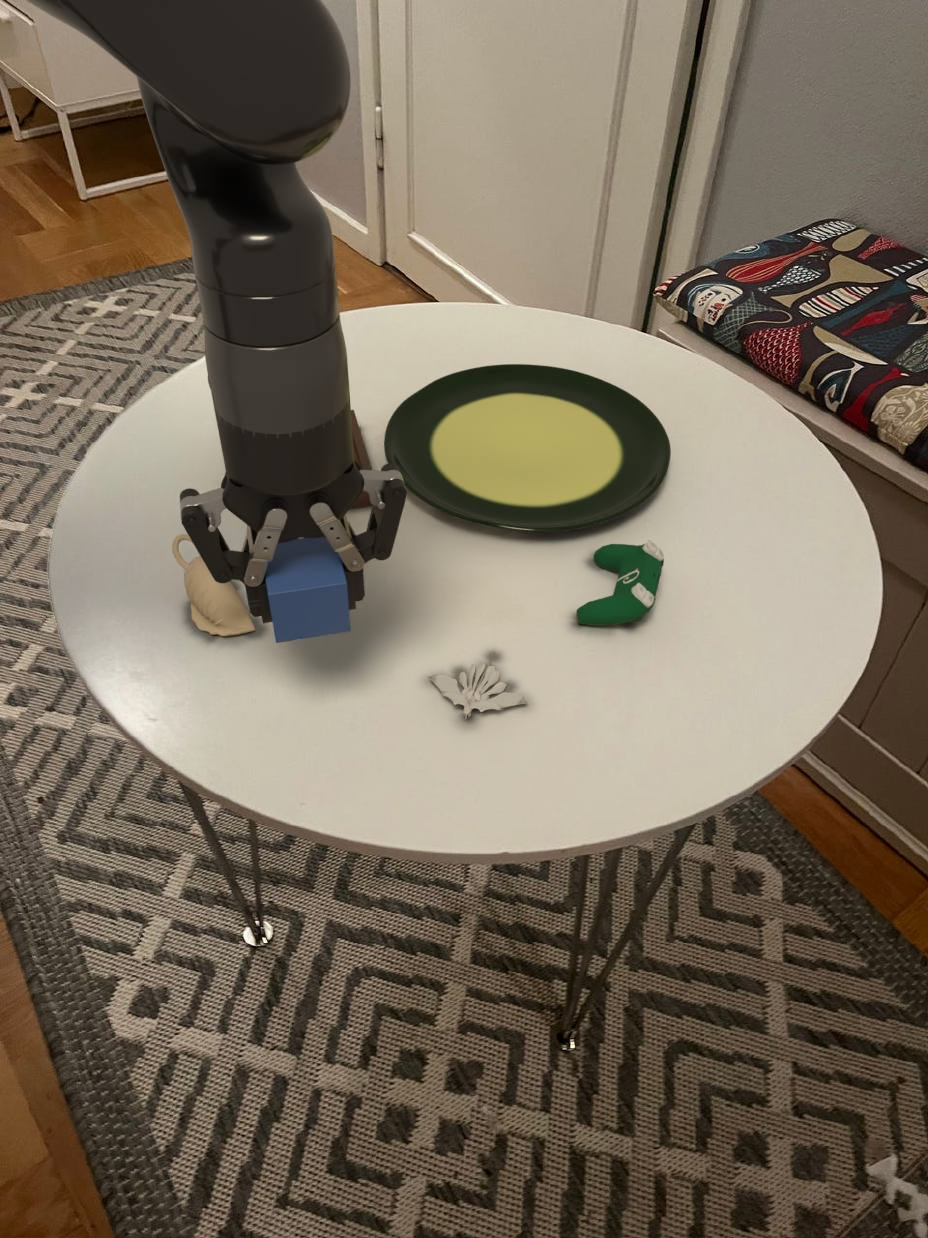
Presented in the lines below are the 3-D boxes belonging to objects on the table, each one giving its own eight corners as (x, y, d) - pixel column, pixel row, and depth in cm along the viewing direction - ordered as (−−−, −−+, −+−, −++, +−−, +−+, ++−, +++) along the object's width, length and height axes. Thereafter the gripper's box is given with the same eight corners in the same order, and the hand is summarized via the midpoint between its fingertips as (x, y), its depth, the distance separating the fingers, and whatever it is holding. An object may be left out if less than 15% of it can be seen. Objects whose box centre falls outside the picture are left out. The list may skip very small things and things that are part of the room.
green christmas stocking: (597, 648, 79) (657, 624, 75) (569, 618, 78) (629, 592, 74) (618, 576, 85) (674, 551, 82) (592, 547, 84) (648, 520, 80)
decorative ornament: (208, 649, 76) (195, 601, 72) (176, 585, 81) (163, 537, 77) (256, 632, 77) (247, 584, 73) (222, 570, 82) (212, 522, 78)
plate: (453, 583, 82) (453, 562, 80) (345, 414, 99) (343, 394, 98) (724, 504, 90) (729, 483, 88) (580, 361, 108) (582, 341, 106)
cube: (276, 643, 63) (267, 594, 60) (267, 592, 66) (259, 543, 63) (351, 631, 64) (346, 582, 61) (339, 581, 67) (334, 533, 64)
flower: (446, 652, 77) (448, 625, 76) (541, 676, 76) (545, 649, 74) (414, 710, 72) (415, 682, 70) (516, 737, 70) (520, 709, 68)
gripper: (149, 444, 49) (204, 665, 61) (422, 412, 52) (423, 630, 64) (146, 368, 54) (197, 587, 66) (395, 343, 57) (400, 557, 69)
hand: (308, 607), depth 65 cm, fingers closed on cube, 5 cm apart
